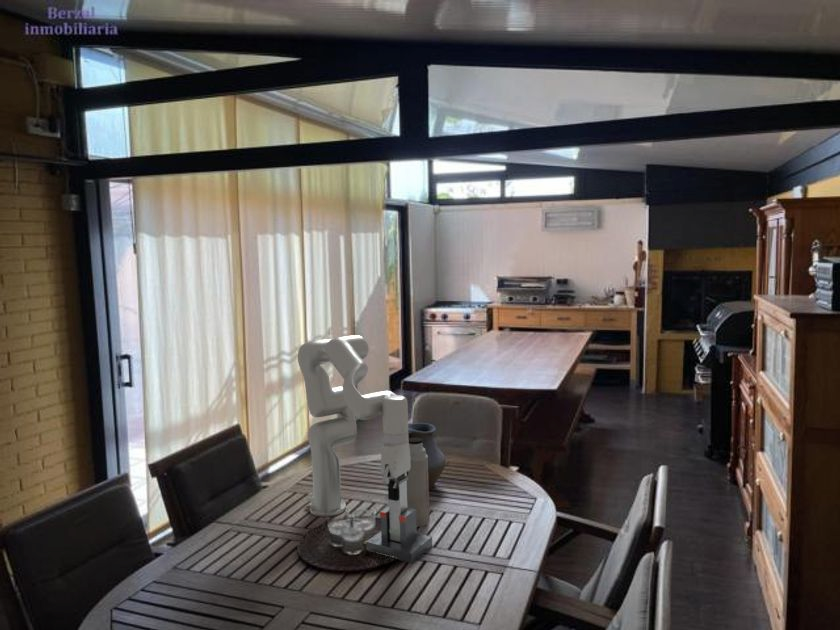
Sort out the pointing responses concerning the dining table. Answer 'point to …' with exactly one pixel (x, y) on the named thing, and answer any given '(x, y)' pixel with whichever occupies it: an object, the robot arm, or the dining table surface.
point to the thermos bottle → (418, 482)
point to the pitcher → (429, 449)
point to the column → (397, 508)
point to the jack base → (410, 540)
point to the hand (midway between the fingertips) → (397, 496)
